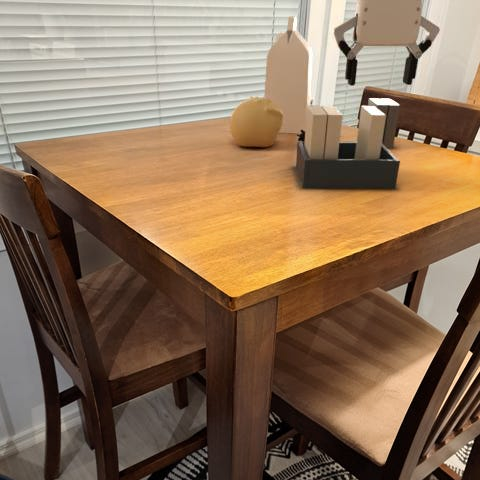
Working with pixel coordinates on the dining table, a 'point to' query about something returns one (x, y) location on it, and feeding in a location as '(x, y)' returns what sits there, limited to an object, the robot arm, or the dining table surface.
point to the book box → (347, 169)
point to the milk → (290, 77)
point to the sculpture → (256, 122)
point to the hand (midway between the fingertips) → (379, 84)
